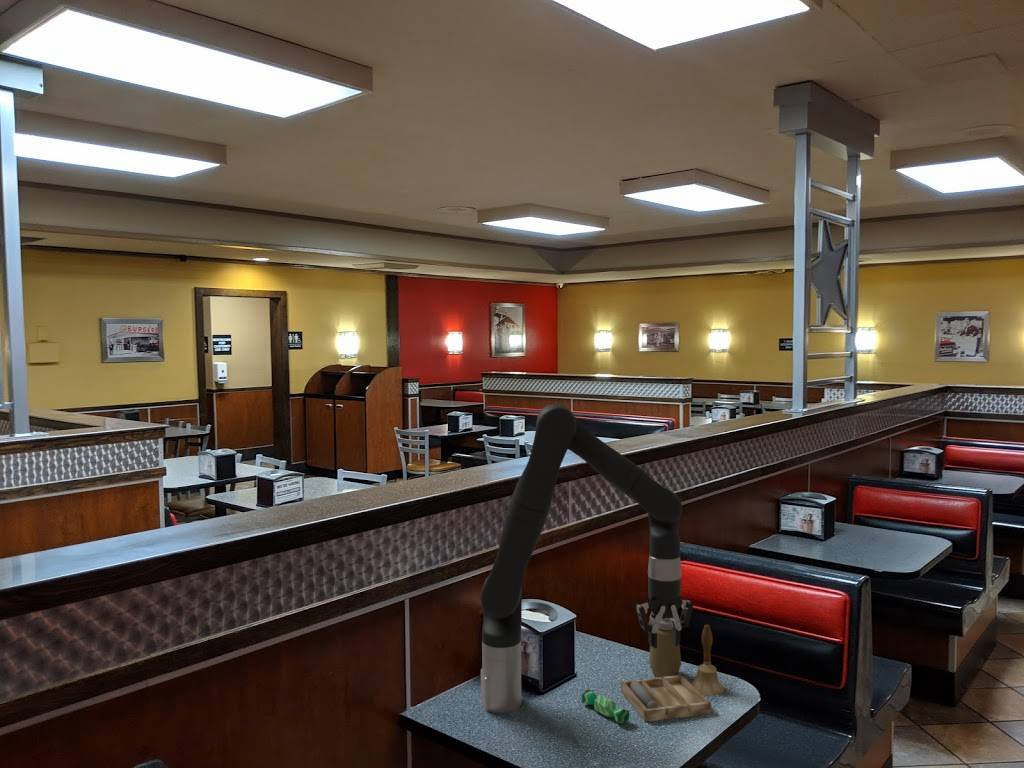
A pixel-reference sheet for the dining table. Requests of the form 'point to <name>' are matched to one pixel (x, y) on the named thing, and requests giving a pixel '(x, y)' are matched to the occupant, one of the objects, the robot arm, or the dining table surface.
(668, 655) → the squeeze bottle
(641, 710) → the wooden compartment tray
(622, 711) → the candy
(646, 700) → the grey capsule rod
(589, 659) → the dining table surface
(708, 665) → the hand bell
